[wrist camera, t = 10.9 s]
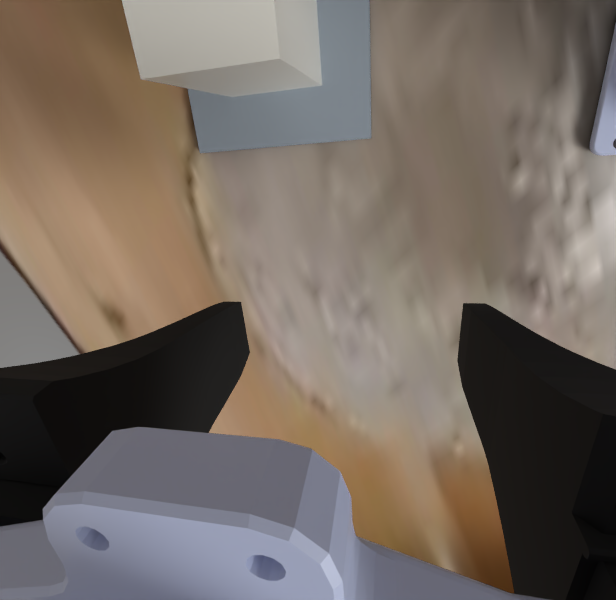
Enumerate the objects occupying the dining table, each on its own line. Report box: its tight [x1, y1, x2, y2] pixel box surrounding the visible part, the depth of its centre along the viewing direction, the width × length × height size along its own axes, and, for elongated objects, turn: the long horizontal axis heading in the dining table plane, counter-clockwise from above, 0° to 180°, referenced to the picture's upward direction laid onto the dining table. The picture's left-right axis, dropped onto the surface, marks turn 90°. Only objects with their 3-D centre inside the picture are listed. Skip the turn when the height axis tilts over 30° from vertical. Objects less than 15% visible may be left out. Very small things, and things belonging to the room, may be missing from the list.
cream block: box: [122, 0, 322, 97], centre depth 13 cm, size 4×4×8 cm
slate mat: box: [187, 0, 371, 153], centre depth 17 cm, size 9×9×1 cm
